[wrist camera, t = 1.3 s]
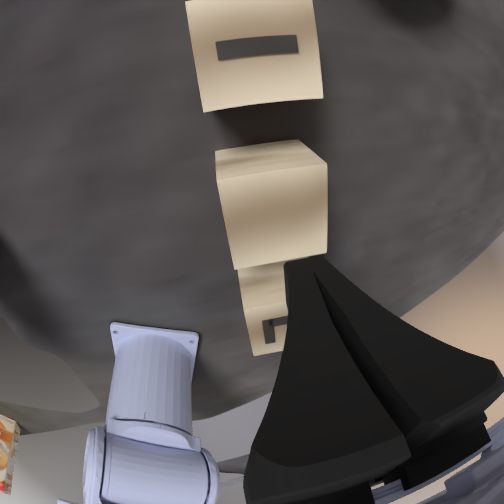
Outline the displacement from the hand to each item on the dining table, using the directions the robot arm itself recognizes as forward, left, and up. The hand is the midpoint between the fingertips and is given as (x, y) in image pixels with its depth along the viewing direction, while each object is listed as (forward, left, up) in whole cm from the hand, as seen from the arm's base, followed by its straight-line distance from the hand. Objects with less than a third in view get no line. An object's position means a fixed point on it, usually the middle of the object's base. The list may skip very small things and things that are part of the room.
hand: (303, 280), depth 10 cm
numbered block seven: (-8, -3, -10) cm, 12 cm away
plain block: (0, 0, -10) cm, 10 cm away
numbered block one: (+7, +3, -10) cm, 12 cm away
